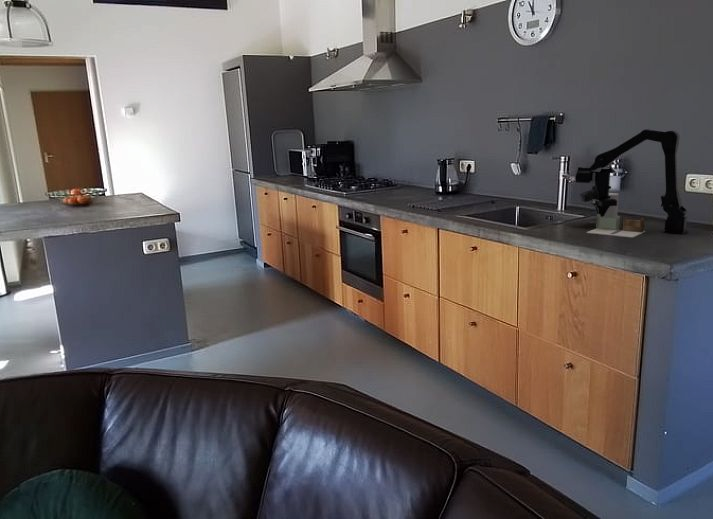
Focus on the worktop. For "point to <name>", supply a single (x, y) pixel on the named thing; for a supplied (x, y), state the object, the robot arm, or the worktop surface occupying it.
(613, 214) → the gray block
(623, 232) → the card
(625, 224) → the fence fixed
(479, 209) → the worktop surface
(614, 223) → the fence panel
